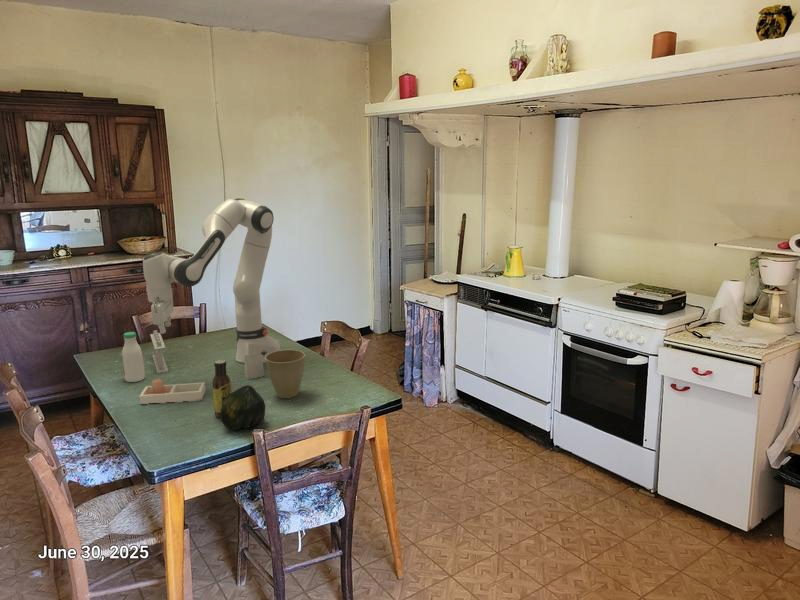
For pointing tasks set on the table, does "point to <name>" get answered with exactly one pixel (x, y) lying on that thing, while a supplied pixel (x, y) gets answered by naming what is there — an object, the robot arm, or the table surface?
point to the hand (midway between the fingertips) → (165, 329)
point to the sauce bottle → (220, 386)
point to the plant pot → (285, 371)
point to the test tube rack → (158, 352)
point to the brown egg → (158, 386)
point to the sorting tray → (174, 393)
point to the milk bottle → (132, 359)
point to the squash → (243, 408)
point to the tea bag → (253, 366)
